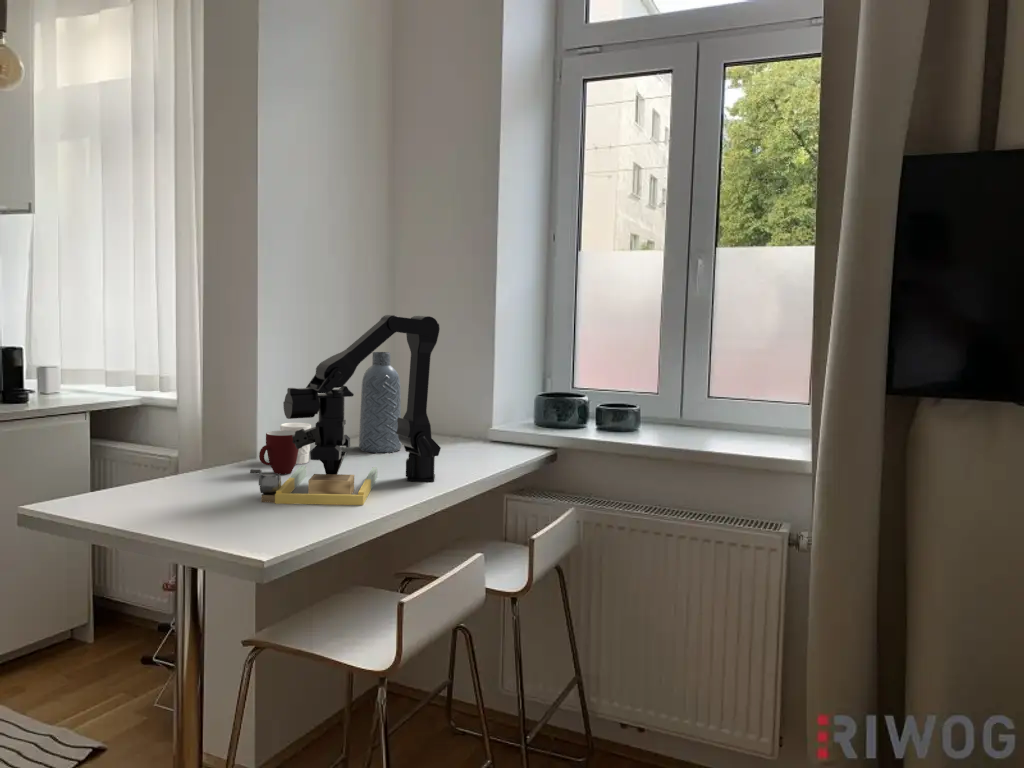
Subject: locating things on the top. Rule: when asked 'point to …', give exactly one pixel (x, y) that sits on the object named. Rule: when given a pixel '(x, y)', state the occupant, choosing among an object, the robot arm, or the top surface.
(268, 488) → the winch
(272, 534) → the top surface
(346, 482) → the box
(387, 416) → the vase
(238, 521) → the top surface
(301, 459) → the white cup
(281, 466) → the mug
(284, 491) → the bay
